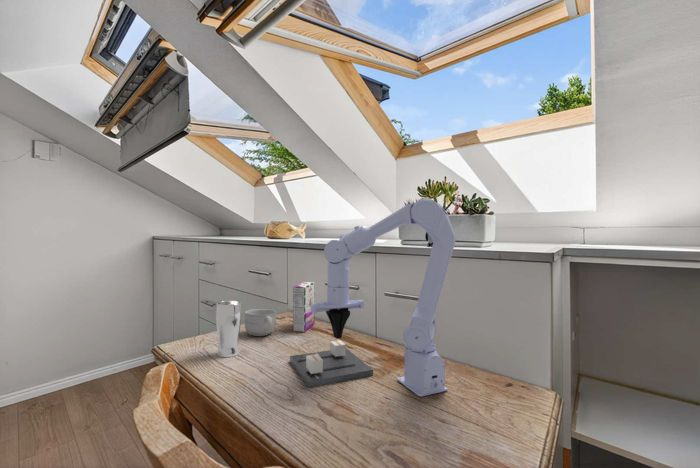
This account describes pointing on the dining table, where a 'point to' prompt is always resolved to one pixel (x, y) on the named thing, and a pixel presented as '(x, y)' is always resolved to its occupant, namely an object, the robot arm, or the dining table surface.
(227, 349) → the beer glass
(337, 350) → the fader far
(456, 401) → the dining table surface
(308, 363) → the fader near
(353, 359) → the fader console
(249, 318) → the teacup
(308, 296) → the candy bar box
